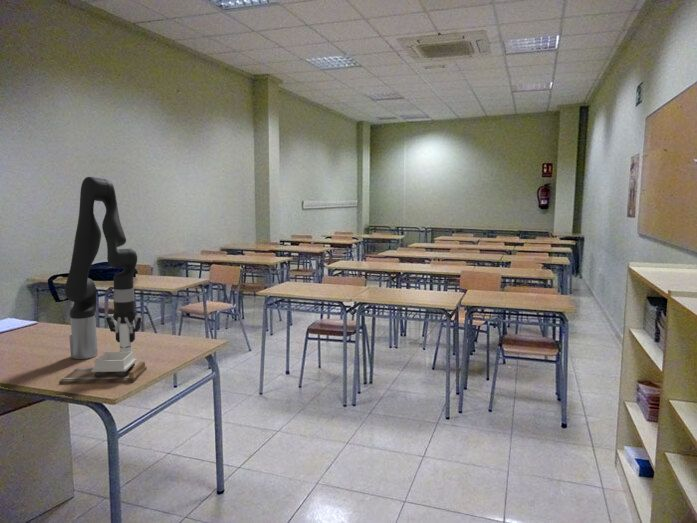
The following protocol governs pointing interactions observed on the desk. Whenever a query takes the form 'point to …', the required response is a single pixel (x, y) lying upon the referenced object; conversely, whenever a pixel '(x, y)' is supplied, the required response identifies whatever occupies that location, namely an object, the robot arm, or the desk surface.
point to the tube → (125, 338)
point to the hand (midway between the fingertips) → (125, 341)
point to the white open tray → (114, 363)
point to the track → (103, 376)
